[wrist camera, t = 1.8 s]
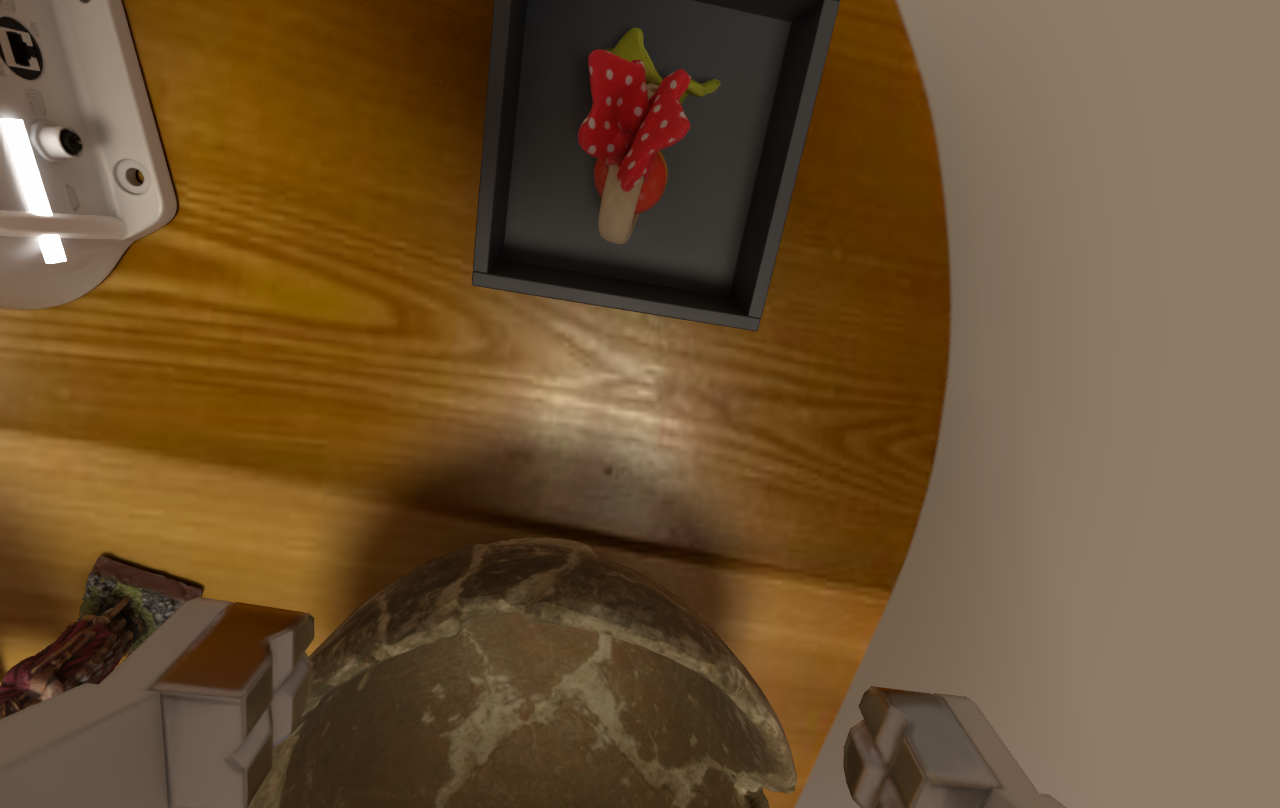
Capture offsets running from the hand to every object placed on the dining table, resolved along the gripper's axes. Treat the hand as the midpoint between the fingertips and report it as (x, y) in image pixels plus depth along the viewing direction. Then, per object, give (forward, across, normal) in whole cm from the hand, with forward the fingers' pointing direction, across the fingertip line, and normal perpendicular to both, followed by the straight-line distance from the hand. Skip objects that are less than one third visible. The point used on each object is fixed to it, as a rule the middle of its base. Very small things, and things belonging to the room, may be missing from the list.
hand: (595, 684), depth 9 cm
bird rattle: (+28, 0, -9) cm, 30 cm away
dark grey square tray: (+28, 0, -9) cm, 30 cm away
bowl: (+29, 0, +23) cm, 37 cm away
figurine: (+29, +27, +25) cm, 47 cm away
